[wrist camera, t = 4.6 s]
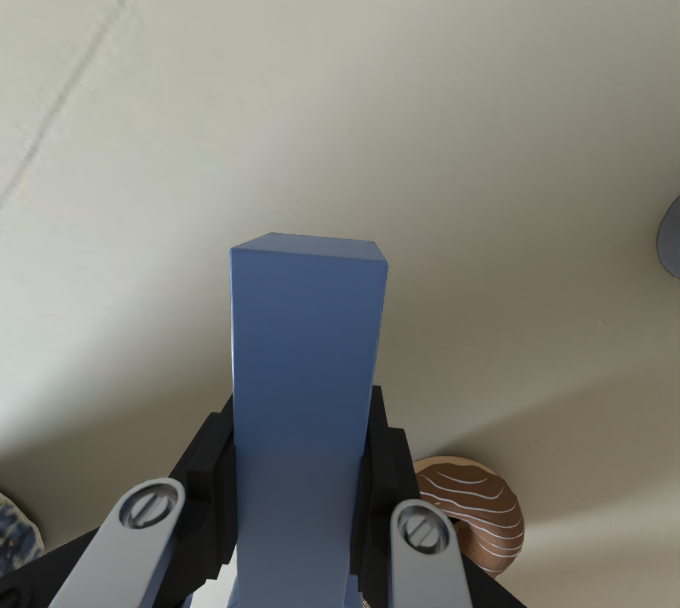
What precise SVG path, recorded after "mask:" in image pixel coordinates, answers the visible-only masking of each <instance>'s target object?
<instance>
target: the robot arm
mask: <svg viewBox="0 0 680 608" xmlns="http://www.w3.org/2000/svg"><path fill="white" fill-rule="evenodd" d="M237 539H238V531H237V485H236V446H235V445H234V420H233V393H232V395H231V396H230V398H229V400H228V401H227V403H226V405H225V406H224V408H223V409H222V411H221V413H218V412H212V413H210V414H209V416H208V417H207V418H206V420H205V421H204V423H203V425H202V426H201V428H200V429H199V431H198V432H197V434H196V435H195V437H194V438H193V440H192V441H191V443H190V444H189V446H188V447H187V449H186V451H185V452H184V454H183V455H182V457H181V458H180V460H179V461H178V463H177V464H176V466H175V467H174V469H173V470H172V472H171V473H170V475H169V476H168V478H165V477H164V478H155V479H151V480H148V481H145V482H143V483H141V484H139V485H137V486H135V487H133V488H132V489H130V490H129V491H128V492H127V493H125V494H124V495H123V496H122V497H121V498H120V500H119V501H118V502H117V503H116V504H115V506H114V507H113V509H112V510H111V512H110V513H109V515H108V516H107V518H106V520H105V521H104V523H103V524H102V526H100V527H98V528H96V529H94V530H92V531H90V532H88V533H86V534H84V535H82V536H80V537H78V538H76V539H74V540H73V541H71V542H69V543H67V544H65V545H63V546H61V547H59V548H57V549H55V550H53V551H51V552H49V553H47V554H45V555H43V556H41V557H39V558H37V559H35V560H33V561H31V562H29V563H27V564H26V565H24V566H22V567H20V568H18V569H16V570H14V571H12V572H10V573H8V574H6V575H4V576H2V577H0V608H190V605H191V601H192V597H193V592H194V591H196V590H197V589H198V588H200V587H201V586H202V585H204V584H205V582H206V579H213V580H217V577H218V575H219V572H220V569H221V566H222V564H227V565H228V564H229V562H230V560H231V557H232V554H233V551H234V548H235V545H236V542H237ZM350 575H357V576H358V592H362V594H363V598H364V599H365V601H366V602H367V603H368V604H369V605H370V607H371V608H527V607H526V606H525V605H524V604H522V603H521V602H520V601H519V600H518V599H516V598H515V597H514V596H513V595H512V594H511V593H509V592H508V591H507V590H506V589H505V588H504V587H502V586H501V585H500V584H499V583H498V582H497V581H495V580H494V579H493V578H492V577H491V576H490V575H488V574H487V573H486V572H485V571H484V570H482V569H481V568H480V567H479V566H478V565H477V564H475V563H474V562H473V561H472V560H471V559H470V558H468V557H467V556H466V555H465V554H464V553H463V552H461V551H460V549H459V545H458V540H457V536H456V533H455V530H454V527H453V525H452V523H451V521H450V520H449V519H448V517H447V516H446V515H445V514H444V513H443V512H442V511H441V510H440V509H439V508H438V507H436V506H434V505H433V504H431V503H429V502H426V501H423V500H422V499H421V495H420V491H419V487H418V483H417V479H416V475H415V470H414V466H413V462H412V458H411V454H410V450H409V446H408V442H407V438H406V434H405V431H404V429H403V428H391V427H388V424H387V418H386V412H385V407H384V401H383V395H382V390H381V386H376V385H373V386H372V394H371V401H370V409H369V416H368V424H367V431H366V439H365V446H364V454H363V456H362V459H361V466H360V474H359V482H358V489H357V497H356V504H355V512H354V520H353V527H352V535H351V542H350Z"/></svg>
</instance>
